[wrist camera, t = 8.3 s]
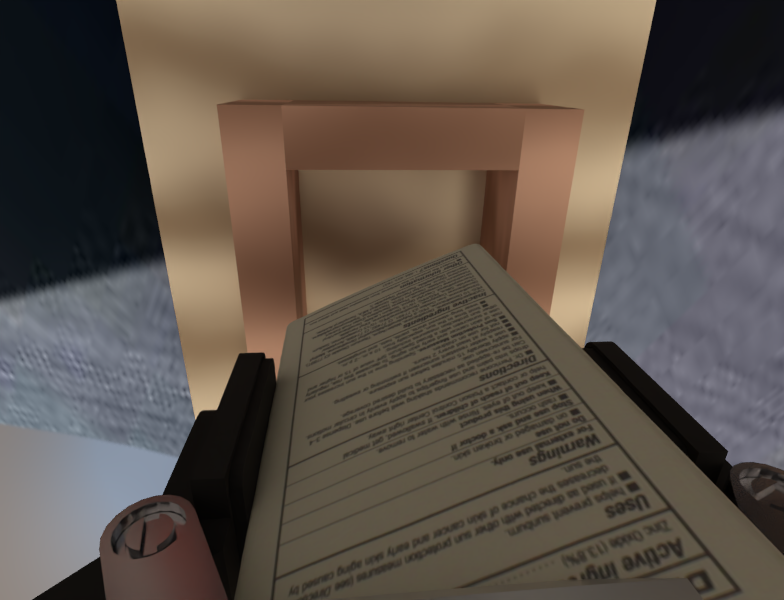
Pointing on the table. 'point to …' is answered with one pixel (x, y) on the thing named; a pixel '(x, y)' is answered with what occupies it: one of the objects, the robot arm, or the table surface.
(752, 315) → the table surface
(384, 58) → the socket stand
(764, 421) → the table surface
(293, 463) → the skincare box
